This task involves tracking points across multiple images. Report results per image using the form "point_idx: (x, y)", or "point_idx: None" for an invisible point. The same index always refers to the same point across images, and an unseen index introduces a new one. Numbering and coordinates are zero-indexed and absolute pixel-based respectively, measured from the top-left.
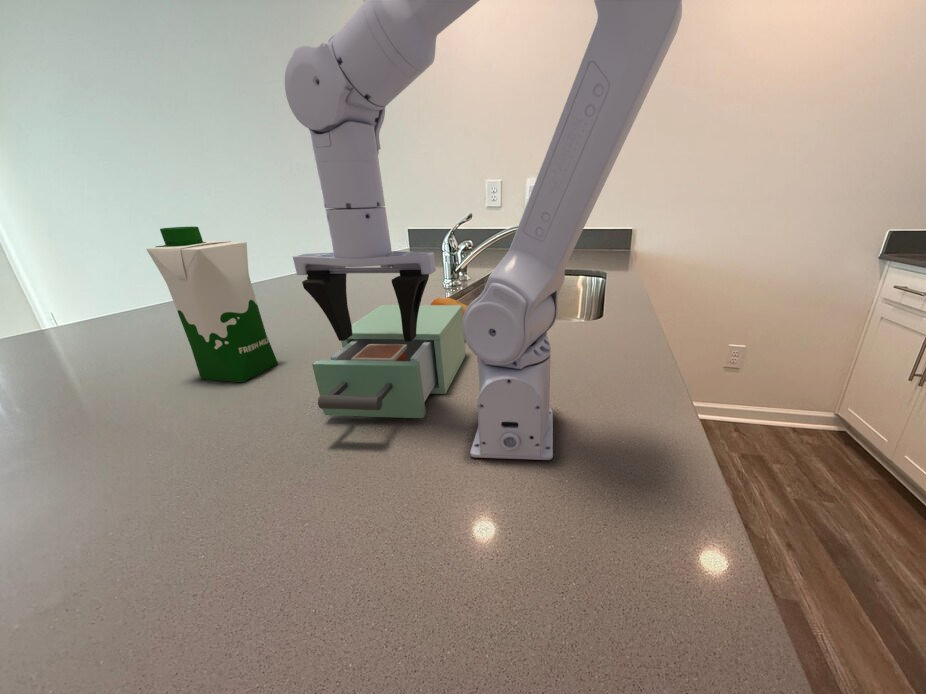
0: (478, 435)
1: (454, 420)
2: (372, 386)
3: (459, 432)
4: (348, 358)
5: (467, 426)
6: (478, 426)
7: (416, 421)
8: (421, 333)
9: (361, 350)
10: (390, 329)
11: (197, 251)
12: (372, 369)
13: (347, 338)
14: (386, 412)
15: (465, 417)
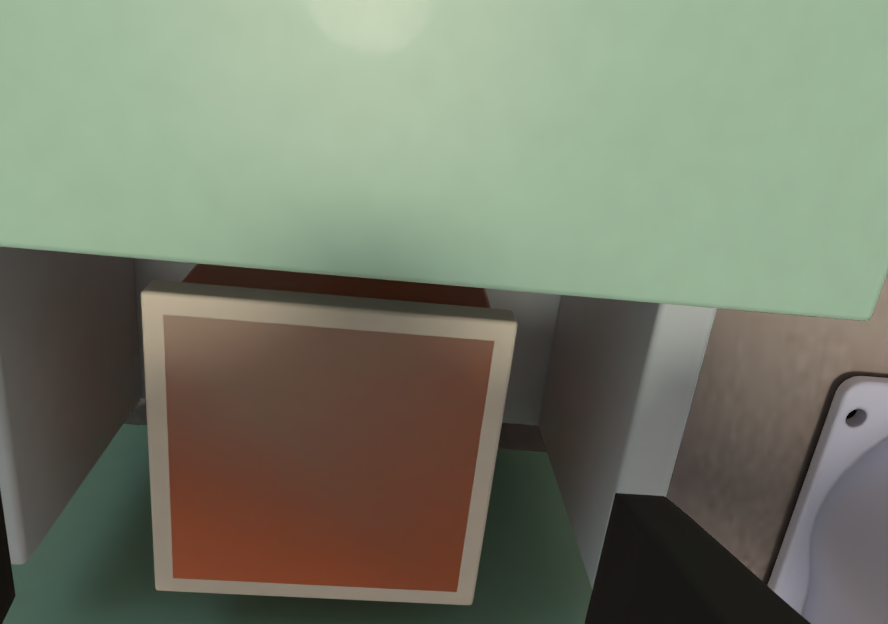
0: (790, 582)
1: (694, 436)
2: None
3: (711, 517)
4: (46, 385)
5: (746, 480)
6: (798, 530)
7: (527, 441)
8: (689, 297)
9: (155, 445)
10: (301, 126)
11: None
12: None
13: (5, 541)
14: None
15: (743, 414)
